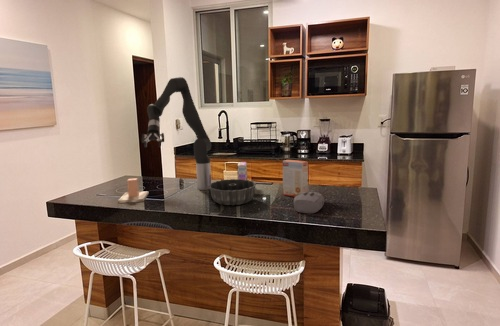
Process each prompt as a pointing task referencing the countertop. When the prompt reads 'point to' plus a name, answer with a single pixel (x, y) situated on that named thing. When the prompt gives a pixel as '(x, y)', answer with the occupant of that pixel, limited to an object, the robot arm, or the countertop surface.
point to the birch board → (139, 198)
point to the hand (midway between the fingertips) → (152, 146)
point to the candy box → (242, 170)
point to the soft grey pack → (308, 202)
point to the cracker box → (295, 177)
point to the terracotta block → (133, 187)
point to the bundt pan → (232, 191)
